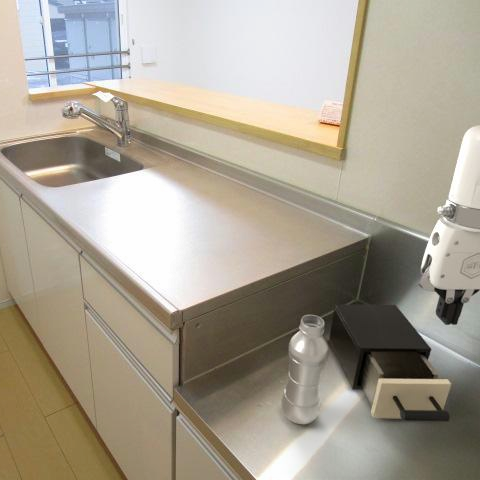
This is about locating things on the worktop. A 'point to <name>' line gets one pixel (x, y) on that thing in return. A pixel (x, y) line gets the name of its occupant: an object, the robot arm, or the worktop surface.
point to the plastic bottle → (305, 371)
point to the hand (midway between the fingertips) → (445, 319)
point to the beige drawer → (403, 386)
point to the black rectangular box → (371, 335)
